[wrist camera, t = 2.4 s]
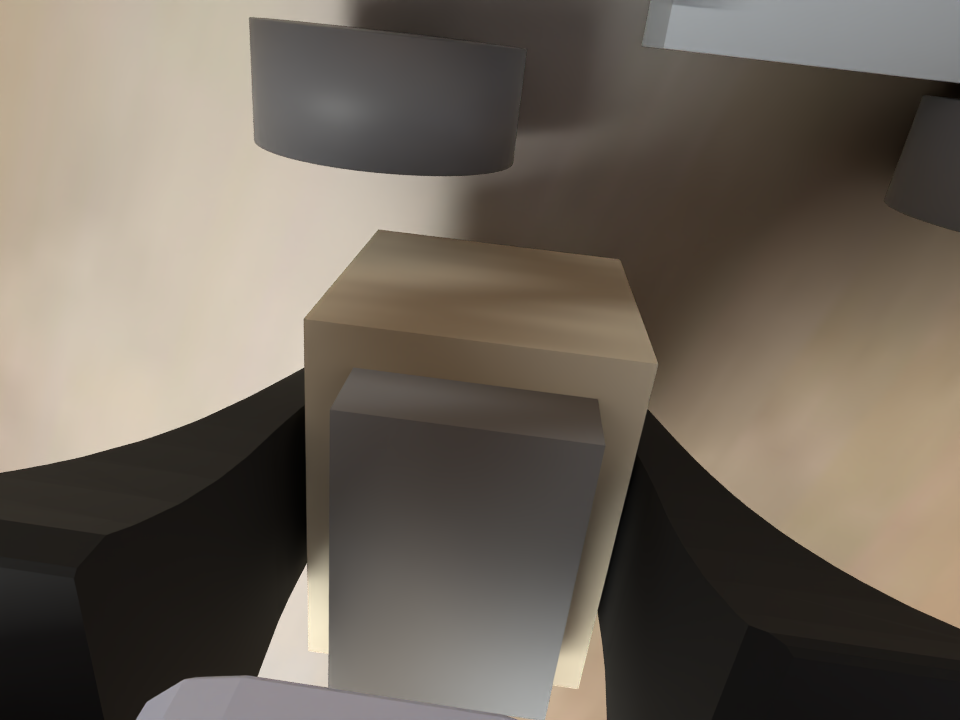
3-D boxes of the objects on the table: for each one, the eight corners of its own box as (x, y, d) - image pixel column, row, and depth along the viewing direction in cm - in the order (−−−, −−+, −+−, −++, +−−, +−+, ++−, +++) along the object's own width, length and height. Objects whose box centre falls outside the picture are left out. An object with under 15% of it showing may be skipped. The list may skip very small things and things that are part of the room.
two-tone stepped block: (620, 258, 12) (674, 408, 7) (567, 517, 15) (581, 753, 10) (378, 229, 12) (272, 355, 7) (368, 490, 15) (285, 710, 10)
